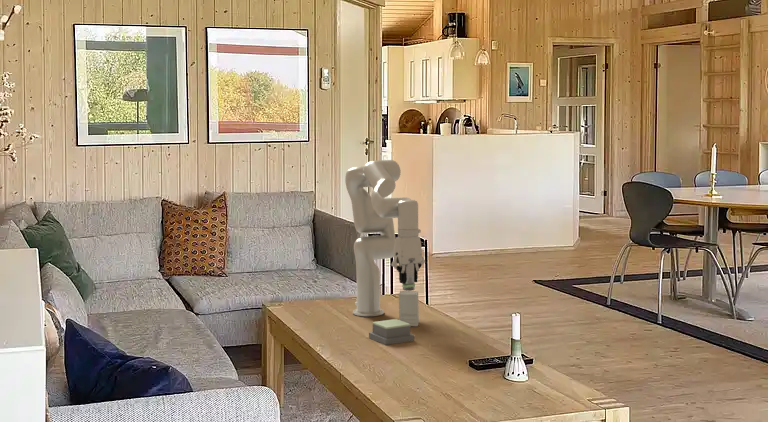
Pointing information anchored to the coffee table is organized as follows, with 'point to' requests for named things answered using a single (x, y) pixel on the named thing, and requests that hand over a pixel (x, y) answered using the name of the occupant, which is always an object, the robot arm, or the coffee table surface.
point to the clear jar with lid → (409, 276)
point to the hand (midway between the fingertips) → (408, 281)
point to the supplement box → (409, 307)
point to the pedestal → (391, 332)
